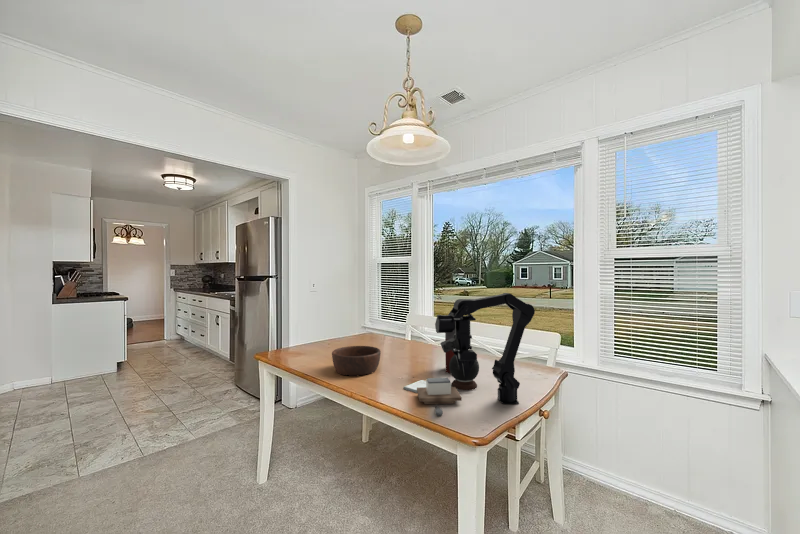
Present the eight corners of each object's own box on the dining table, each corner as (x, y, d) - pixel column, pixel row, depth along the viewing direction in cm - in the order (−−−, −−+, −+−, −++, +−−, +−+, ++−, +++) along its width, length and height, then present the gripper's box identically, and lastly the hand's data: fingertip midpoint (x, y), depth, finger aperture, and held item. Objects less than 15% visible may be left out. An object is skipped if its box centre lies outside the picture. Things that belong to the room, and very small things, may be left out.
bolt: (433, 409, 128) (433, 402, 128) (440, 409, 128) (440, 402, 128) (435, 416, 122) (435, 409, 122) (442, 416, 122) (442, 408, 122)
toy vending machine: (465, 367, 182) (464, 314, 182) (463, 373, 171) (463, 317, 172) (448, 366, 184) (447, 314, 185) (445, 372, 174) (445, 316, 174)
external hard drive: (403, 390, 150) (420, 382, 160) (418, 394, 145) (435, 386, 155) (403, 386, 150) (420, 379, 160) (418, 390, 145) (435, 383, 155)
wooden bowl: (390, 370, 179) (390, 350, 179) (352, 381, 161) (352, 359, 161) (359, 361, 197) (359, 343, 197) (322, 371, 178) (322, 351, 179)
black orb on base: (452, 379, 162) (452, 347, 163) (481, 382, 158) (480, 349, 158) (446, 388, 150) (445, 354, 150) (477, 392, 145) (476, 356, 146)
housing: (428, 395, 135) (428, 382, 135) (426, 390, 140) (426, 378, 140) (451, 394, 135) (450, 381, 135) (448, 389, 140) (448, 377, 140)
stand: (455, 394, 144) (455, 386, 144) (461, 405, 132) (461, 397, 132) (416, 394, 143) (416, 387, 143) (419, 406, 131) (419, 398, 131)
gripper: (438, 328, 142) (438, 366, 142) (446, 337, 123) (446, 381, 123) (465, 328, 142) (465, 366, 142) (477, 336, 124) (477, 380, 124)
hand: (463, 372), depth 133 cm, fingers open, 9 cm apart
